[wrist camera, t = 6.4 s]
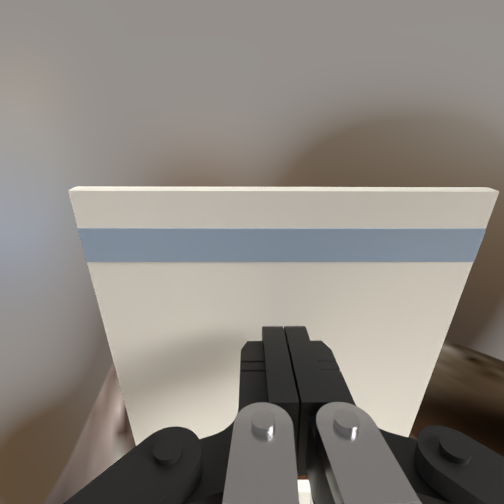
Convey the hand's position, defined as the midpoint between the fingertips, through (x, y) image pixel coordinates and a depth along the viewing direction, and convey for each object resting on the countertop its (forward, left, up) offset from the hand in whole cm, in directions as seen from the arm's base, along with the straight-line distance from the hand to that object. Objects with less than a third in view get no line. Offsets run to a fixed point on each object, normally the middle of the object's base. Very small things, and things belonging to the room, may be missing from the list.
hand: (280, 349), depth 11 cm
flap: (-2, -1, -9) cm, 9 cm away
